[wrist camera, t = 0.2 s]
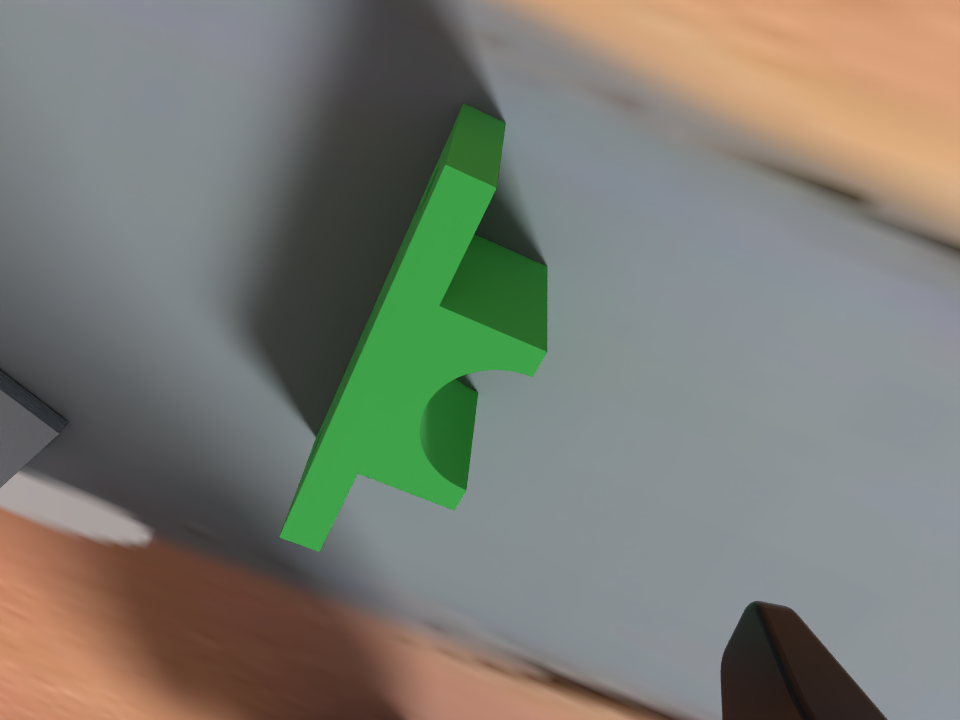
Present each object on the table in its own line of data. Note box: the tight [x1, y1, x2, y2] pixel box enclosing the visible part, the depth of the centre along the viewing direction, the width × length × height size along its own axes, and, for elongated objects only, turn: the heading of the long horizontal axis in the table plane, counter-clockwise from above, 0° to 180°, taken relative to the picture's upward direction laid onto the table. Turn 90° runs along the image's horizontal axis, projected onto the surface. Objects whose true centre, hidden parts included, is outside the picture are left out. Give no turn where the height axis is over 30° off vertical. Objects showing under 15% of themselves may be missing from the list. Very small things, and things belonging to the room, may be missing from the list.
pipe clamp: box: [280, 103, 547, 552], centre depth 22 cm, size 11×4×5 cm, turn 156°
